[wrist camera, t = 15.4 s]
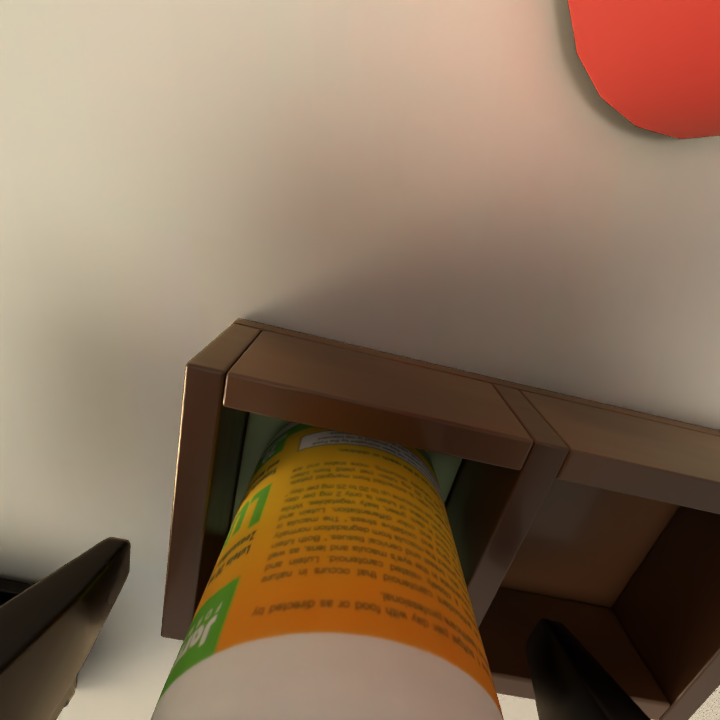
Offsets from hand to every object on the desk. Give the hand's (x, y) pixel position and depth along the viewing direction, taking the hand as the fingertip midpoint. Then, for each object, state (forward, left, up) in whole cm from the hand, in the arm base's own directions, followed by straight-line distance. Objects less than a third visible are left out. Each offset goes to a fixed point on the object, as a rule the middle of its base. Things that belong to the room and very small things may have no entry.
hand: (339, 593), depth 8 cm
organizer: (+4, 0, -4) cm, 6 cm away
